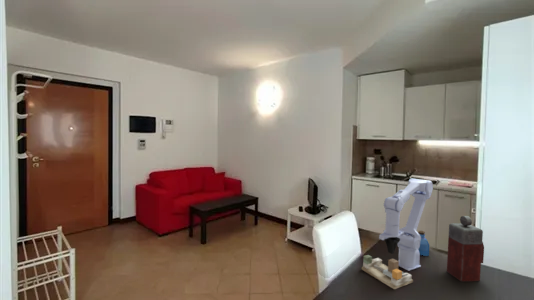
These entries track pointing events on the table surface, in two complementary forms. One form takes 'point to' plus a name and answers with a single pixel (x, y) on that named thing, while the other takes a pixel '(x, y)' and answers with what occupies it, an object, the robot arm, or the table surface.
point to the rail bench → (376, 270)
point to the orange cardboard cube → (397, 274)
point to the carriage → (391, 267)
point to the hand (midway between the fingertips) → (390, 252)
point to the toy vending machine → (465, 250)
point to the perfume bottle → (423, 244)
